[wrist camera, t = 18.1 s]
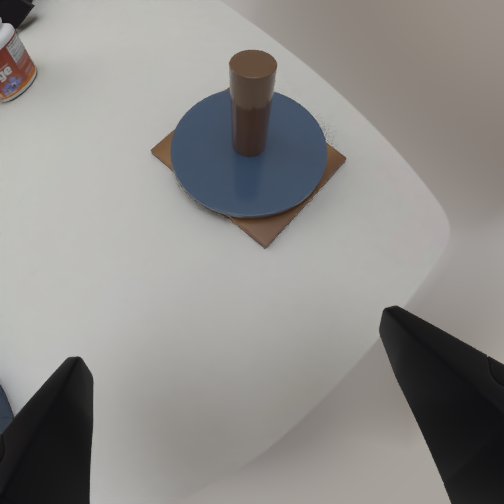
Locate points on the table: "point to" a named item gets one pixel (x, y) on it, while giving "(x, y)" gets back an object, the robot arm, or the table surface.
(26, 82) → the pill bottle
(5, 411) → the canister
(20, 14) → the light fixture
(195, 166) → the lid
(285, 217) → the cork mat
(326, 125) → the table surface
